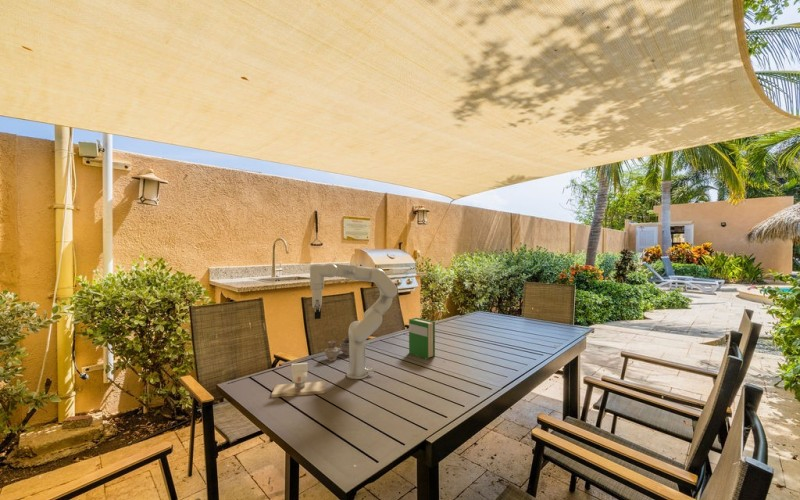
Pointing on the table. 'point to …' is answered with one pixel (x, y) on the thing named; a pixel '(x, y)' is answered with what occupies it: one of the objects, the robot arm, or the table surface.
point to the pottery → (337, 349)
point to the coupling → (299, 372)
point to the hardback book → (422, 337)
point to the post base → (298, 389)
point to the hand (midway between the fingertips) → (317, 316)
